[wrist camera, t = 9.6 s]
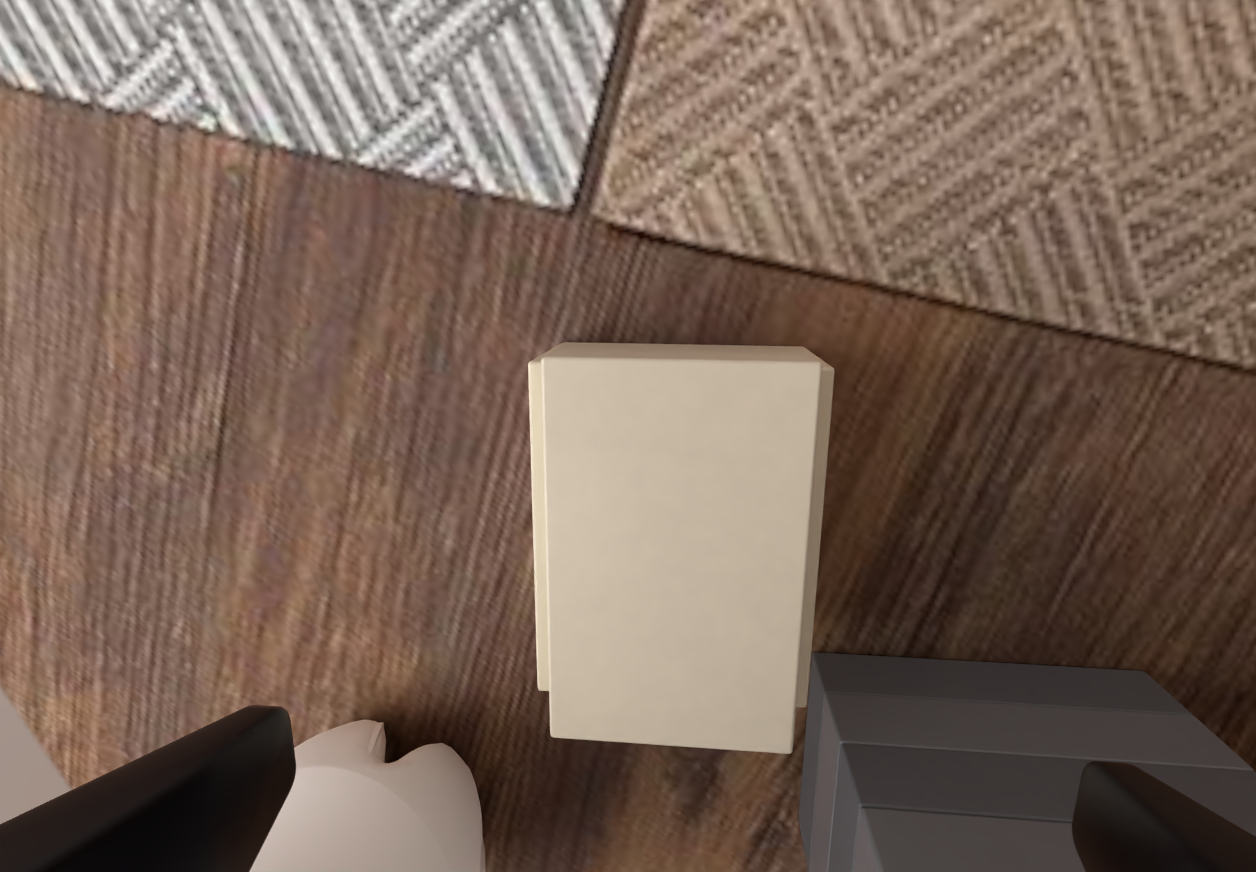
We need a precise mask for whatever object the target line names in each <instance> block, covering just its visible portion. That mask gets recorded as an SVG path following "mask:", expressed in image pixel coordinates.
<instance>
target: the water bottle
mask: <svg viewBox="0 0 1256 872" xmlns="http://www.w3.org/2000/svg"><path fill="white" fill-rule="evenodd" d="M385 749H386V737H385V732H384V722H380V723H378V722H376V721H371V720H360V721H354V722H350V723H347V724H344V725H341V726H338V727H335V728H333V729H330V730H328V731H325V732H323V733H320V734H318V735H316V736H314V737H312V738H310V739H308V740H306V741H305V742H303V743H301V744H300V745H298V746H297V747H295V748H294V751H295V759H296V775H295V779H294V783H293V786H292V788H291V790H290V792H289V794H288V796H287V798H286V800H285V802H284V804H283V806H282V808H281V810H280V812H279V814H278V816H277V818H276V820H275V822H274V824H273V826H272V828H271V830H270V832H269V834H268V836H267V838H266V840H265V842H264V844H263V846H262V848H261V850H260V852H259V854H258V856H257V858H256V860H255V862H254V864H253V866H252V868H251V870H250V872H486V870H485V848H484V842H483V838H482V814H481V807H480V801H479V797H478V793H477V789H476V785H475V781H474V779H473V776H472V773H471V771H470V769H469V767H468V766H467V765H466V764H465V762H464V761H463V760H462V758H461V757H460V756H459V755H458V754H457V753H456V752H455V751H454V750H453V749H452V748H451V747H450V746H447V745H445V744H443V743H436V744H429V745H424V746H421V747H419V748H417V749H415V750H413V751H411V752H409V753H408V754H406V755H405V756H403V757H402V758H400V759H399V760H397V761H395V762H392V763H385Z"/></svg>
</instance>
